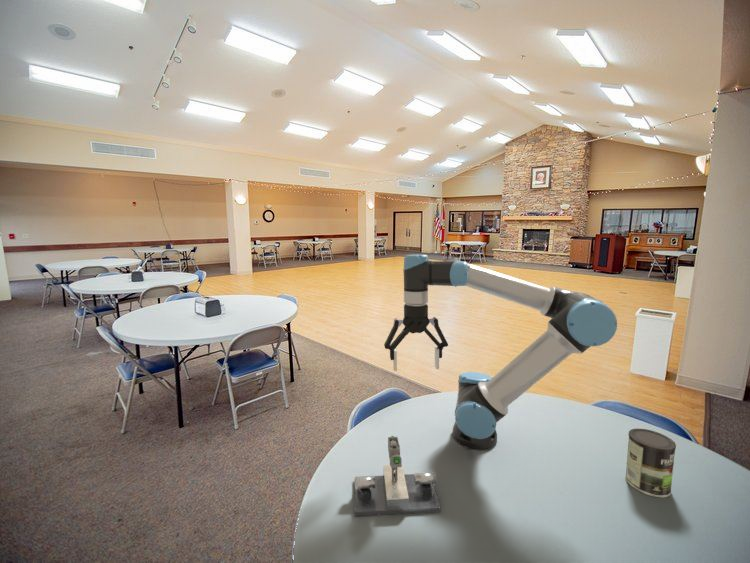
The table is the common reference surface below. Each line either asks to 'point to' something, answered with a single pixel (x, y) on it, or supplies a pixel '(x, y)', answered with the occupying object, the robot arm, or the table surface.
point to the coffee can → (650, 462)
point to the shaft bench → (395, 493)
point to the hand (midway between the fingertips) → (416, 368)
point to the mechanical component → (394, 455)
